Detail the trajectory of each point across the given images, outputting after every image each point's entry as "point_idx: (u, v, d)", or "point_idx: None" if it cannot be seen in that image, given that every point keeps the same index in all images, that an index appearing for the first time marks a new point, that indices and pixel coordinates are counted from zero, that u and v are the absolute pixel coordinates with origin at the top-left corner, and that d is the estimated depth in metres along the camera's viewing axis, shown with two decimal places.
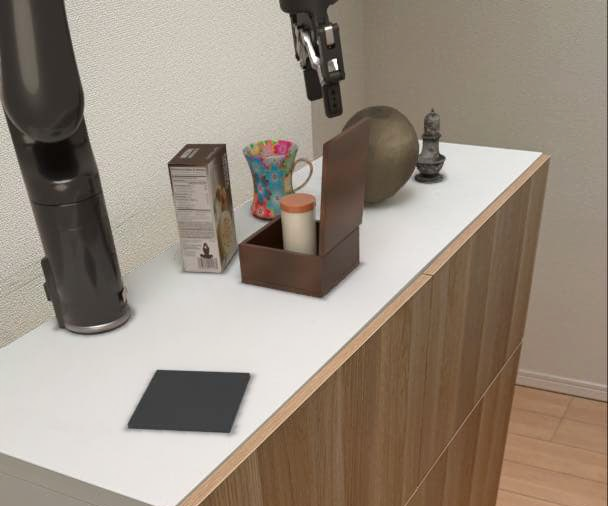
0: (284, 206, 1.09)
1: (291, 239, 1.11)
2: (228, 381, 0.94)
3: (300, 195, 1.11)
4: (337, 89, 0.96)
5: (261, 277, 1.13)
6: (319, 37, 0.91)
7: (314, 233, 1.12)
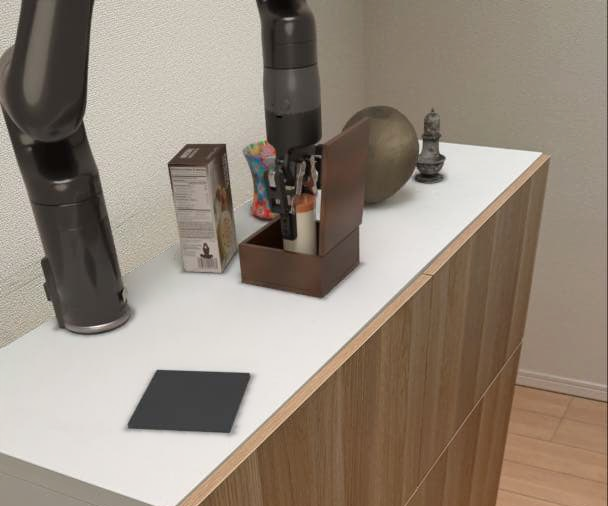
0: None
1: None
2: (228, 381, 0.94)
3: (300, 195, 1.11)
4: (288, 219, 1.08)
5: (261, 277, 1.13)
6: None
7: (314, 233, 1.12)
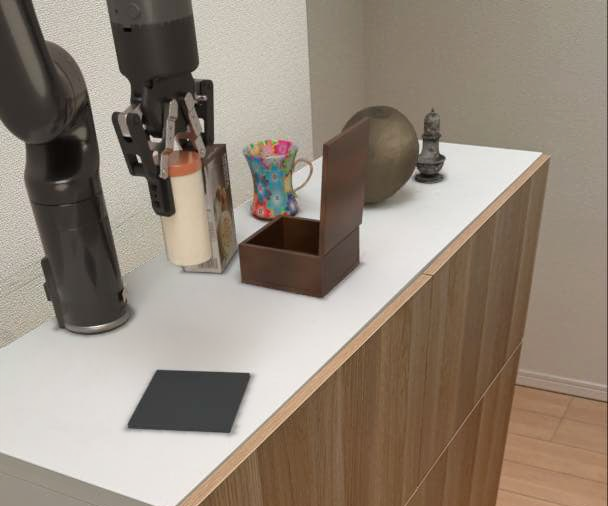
0: None
1: None
2: (228, 381, 0.94)
3: (180, 153, 0.79)
4: (158, 186, 0.76)
5: (261, 277, 1.13)
6: None
7: (202, 206, 0.80)
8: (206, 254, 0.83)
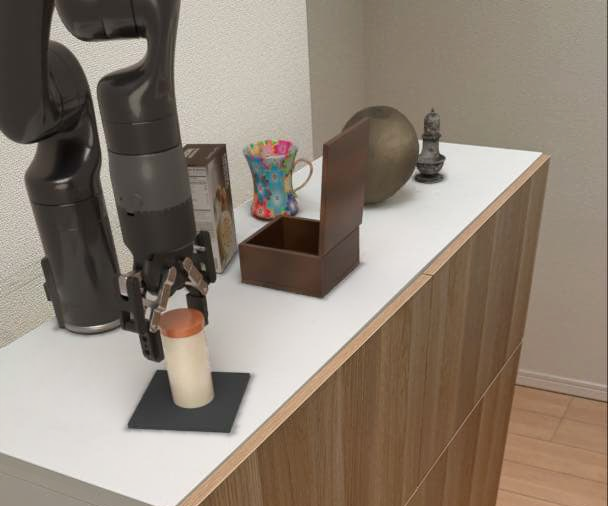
0: (162, 329, 0.84)
1: (175, 368, 0.87)
2: (228, 381, 0.94)
3: (185, 312, 0.86)
4: (148, 338, 0.81)
5: (261, 277, 1.13)
6: None
7: (205, 359, 0.87)
8: (208, 397, 0.90)
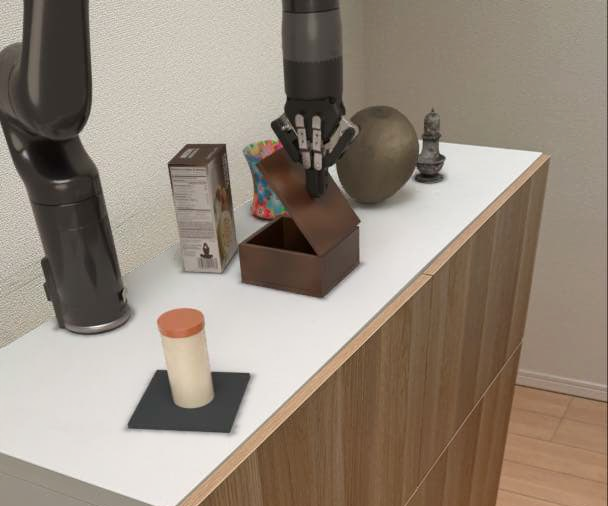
0: (162, 329, 0.84)
1: (175, 368, 0.87)
2: (228, 381, 0.94)
3: (185, 312, 0.86)
4: (305, 171, 1.06)
5: (261, 277, 1.13)
6: None
7: (205, 359, 0.87)
8: (208, 397, 0.90)
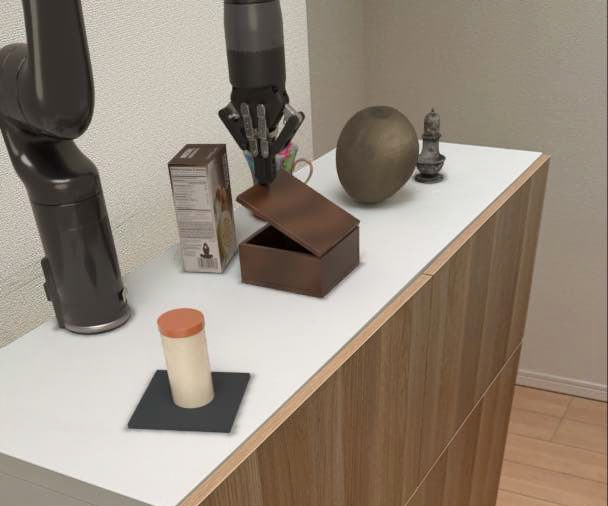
0: (162, 329, 0.84)
1: (175, 368, 0.87)
2: (228, 381, 0.94)
3: (185, 312, 0.86)
4: (253, 159, 1.09)
5: (261, 277, 1.13)
6: None
7: (205, 359, 0.87)
8: (208, 397, 0.90)
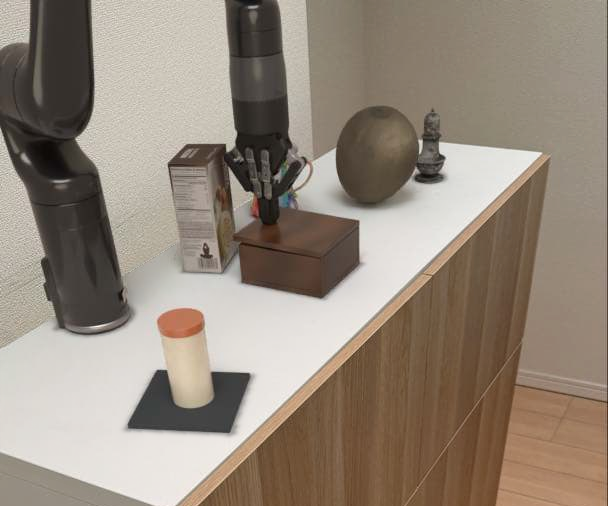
0: (162, 329, 0.84)
1: (175, 368, 0.87)
2: (228, 381, 0.94)
3: (185, 312, 0.86)
4: (257, 200, 1.12)
5: (261, 277, 1.13)
6: None
7: (205, 359, 0.87)
8: (208, 397, 0.90)
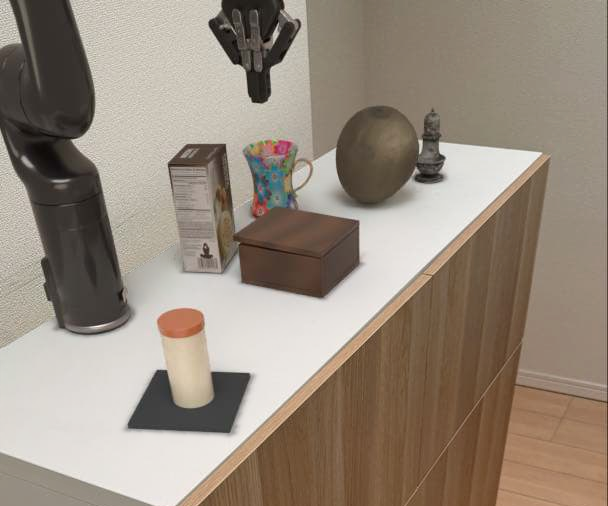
0: (162, 329, 0.84)
1: (175, 368, 0.87)
2: (228, 381, 0.94)
3: (185, 312, 0.86)
4: (246, 74, 1.01)
5: (261, 277, 1.13)
6: None
7: (205, 359, 0.87)
8: (208, 397, 0.90)
